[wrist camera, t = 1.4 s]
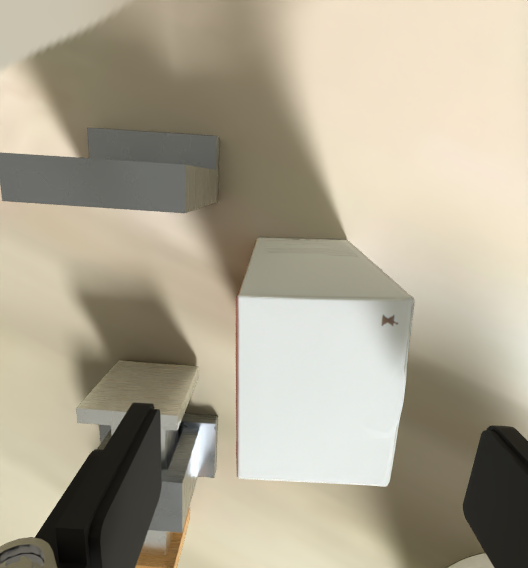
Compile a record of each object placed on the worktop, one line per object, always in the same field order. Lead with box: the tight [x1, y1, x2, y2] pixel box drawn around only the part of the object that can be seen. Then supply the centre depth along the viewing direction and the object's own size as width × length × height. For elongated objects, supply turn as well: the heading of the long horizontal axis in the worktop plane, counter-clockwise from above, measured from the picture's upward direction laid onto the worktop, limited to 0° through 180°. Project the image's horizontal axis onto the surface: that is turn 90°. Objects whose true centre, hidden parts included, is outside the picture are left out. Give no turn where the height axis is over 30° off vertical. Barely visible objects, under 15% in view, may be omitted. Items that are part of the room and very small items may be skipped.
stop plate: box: [0, 128, 219, 213], centre depth 20 cm, size 8×4×9 cm, turn 86°
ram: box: [76, 360, 199, 568], centre depth 26 cm, size 6×14×6 cm, turn 176°
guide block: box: [98, 414, 218, 533], centre depth 27 cm, size 9×5×6 cm, turn 86°
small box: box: [236, 237, 414, 487], centre depth 20 cm, size 8×6×13 cm
